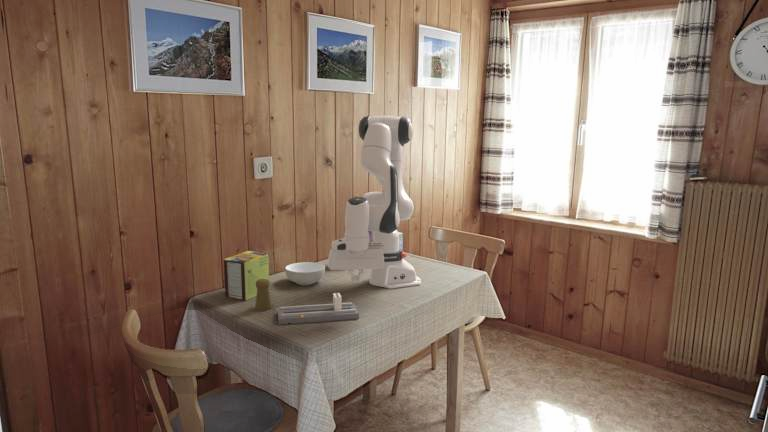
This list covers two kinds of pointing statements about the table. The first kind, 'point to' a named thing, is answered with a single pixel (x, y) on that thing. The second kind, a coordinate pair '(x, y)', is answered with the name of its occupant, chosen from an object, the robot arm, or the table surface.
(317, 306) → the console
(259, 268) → the protein box
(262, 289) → the cork
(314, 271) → the cereal bowl
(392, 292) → the table surface
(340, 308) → the fader tab
